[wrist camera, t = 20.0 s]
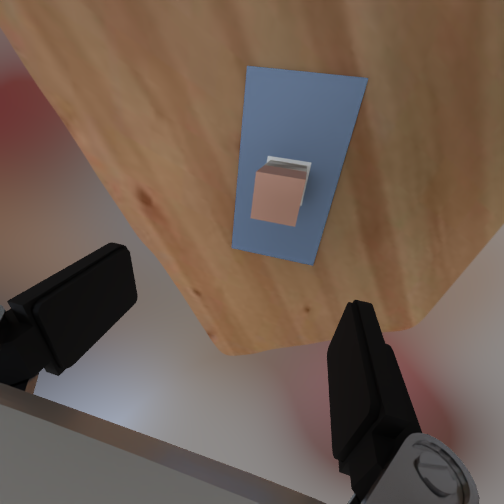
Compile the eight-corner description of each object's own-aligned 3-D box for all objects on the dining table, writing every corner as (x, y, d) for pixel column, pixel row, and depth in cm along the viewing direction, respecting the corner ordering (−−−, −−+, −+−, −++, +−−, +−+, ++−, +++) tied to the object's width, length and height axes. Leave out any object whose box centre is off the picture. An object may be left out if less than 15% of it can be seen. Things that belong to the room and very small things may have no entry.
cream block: (307, 165, 31) (306, 171, 27) (298, 201, 33) (297, 212, 29) (270, 159, 32) (264, 164, 27) (265, 195, 34) (258, 205, 30)
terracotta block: (306, 171, 27) (305, 179, 22) (297, 212, 29) (295, 226, 25) (264, 164, 27) (256, 171, 23) (259, 205, 30) (250, 218, 26)
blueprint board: (367, 79, 26) (368, 78, 26) (312, 263, 38) (312, 265, 38) (248, 66, 28) (246, 65, 27) (232, 246, 40) (231, 248, 40)
